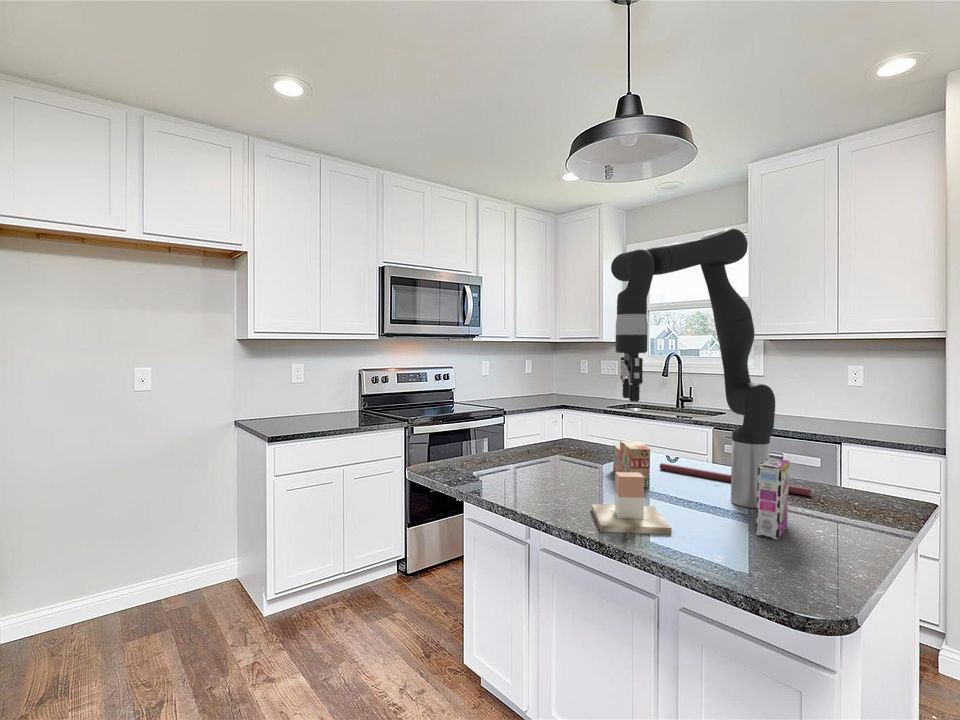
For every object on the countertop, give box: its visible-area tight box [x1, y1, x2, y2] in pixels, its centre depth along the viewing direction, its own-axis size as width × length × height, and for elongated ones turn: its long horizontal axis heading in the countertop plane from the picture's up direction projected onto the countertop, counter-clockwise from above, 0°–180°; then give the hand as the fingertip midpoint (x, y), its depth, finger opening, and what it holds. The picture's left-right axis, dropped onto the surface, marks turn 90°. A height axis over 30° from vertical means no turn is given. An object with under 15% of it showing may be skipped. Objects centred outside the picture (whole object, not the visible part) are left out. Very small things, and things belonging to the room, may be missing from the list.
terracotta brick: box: [614, 472, 645, 499], centre depth 127 cm, size 6×4×5 cm
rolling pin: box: [659, 462, 812, 497], centre depth 164 cm, size 45×3×3 cm, turn 45°
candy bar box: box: [755, 457, 790, 541], centre depth 120 cm, size 11×5×16 cm, turn 141°
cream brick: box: [614, 491, 645, 518], centre depth 127 cm, size 6×4×5 cm
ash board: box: [591, 503, 673, 535], centre depth 127 cm, size 16×16×2 cm
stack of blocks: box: [612, 440, 651, 489], centre depth 168 cm, size 21×6×12 cm, turn 179°
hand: (630, 399), depth 126 cm, fingers open, 8 cm apart
